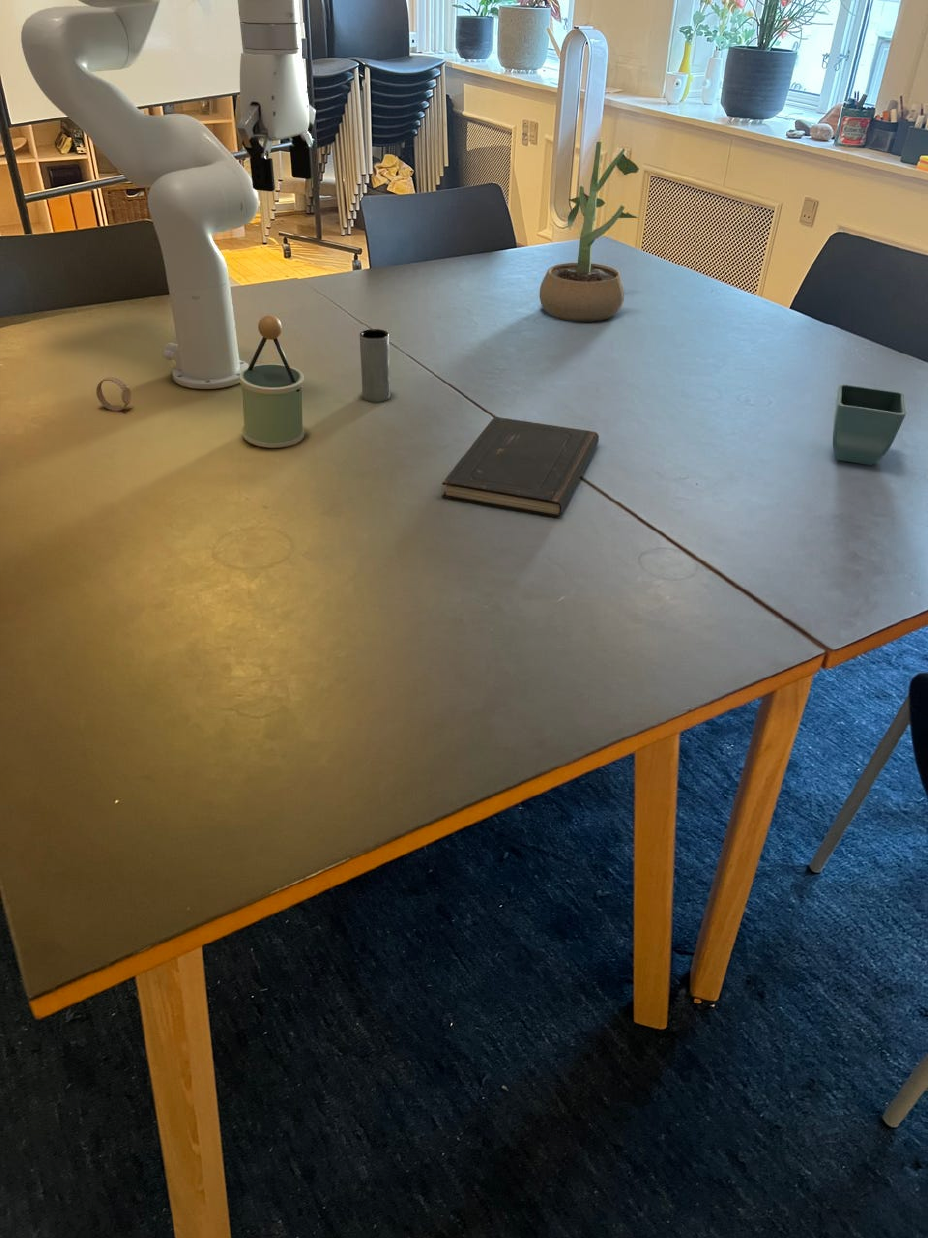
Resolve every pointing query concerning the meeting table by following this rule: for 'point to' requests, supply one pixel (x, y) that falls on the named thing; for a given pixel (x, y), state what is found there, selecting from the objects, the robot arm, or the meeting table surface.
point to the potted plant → (587, 260)
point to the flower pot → (866, 423)
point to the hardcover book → (522, 466)
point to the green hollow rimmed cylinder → (272, 396)
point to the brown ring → (124, 394)
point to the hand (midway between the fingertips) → (283, 183)
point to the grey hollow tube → (375, 365)
